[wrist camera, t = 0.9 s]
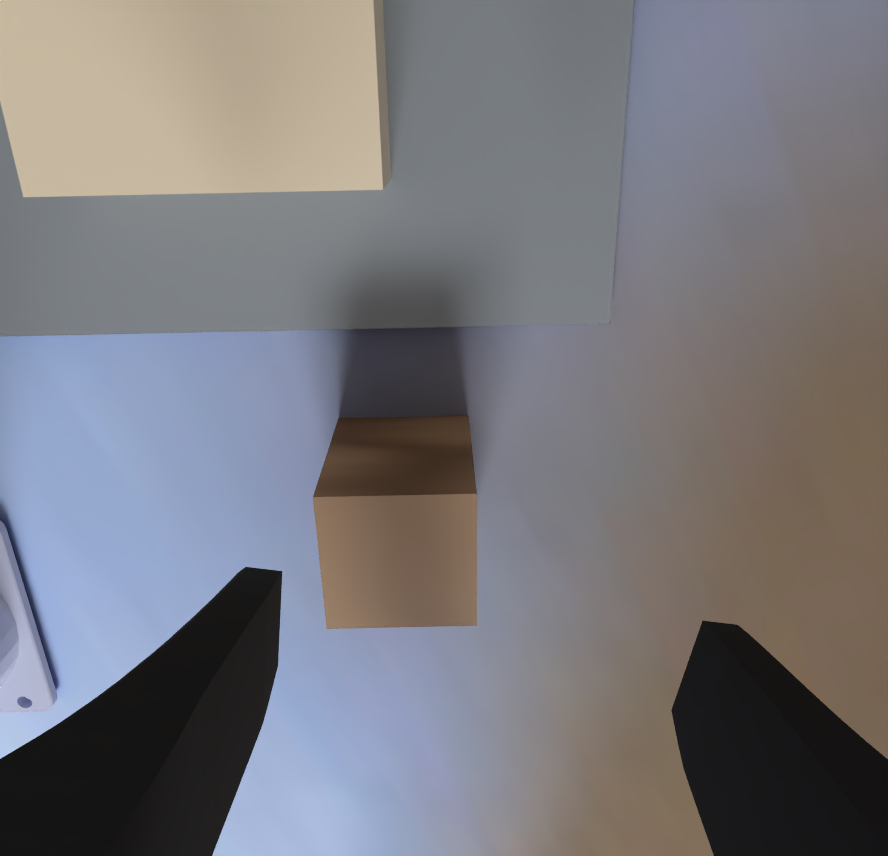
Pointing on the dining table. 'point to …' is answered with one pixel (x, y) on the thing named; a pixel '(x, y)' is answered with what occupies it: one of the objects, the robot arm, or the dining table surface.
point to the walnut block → (398, 523)
